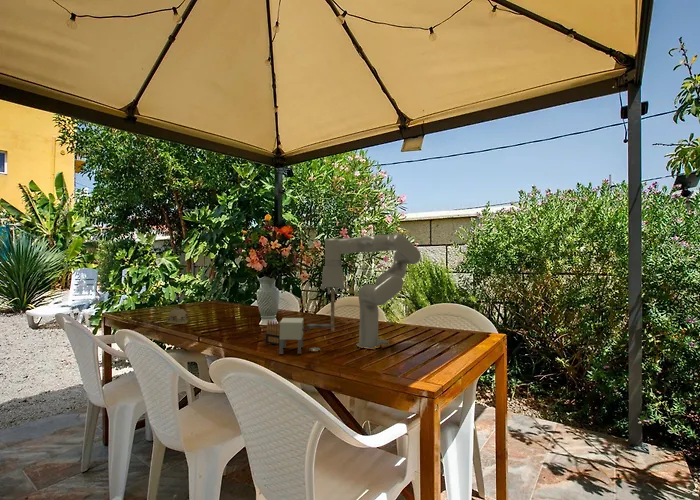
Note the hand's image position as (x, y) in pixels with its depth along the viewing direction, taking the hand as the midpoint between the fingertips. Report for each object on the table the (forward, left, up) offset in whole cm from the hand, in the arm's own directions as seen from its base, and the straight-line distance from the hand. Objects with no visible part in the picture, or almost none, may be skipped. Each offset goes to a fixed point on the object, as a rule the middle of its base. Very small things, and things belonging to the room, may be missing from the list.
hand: (332, 301), depth 182 cm
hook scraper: (+5, 0, -14) cm, 15 cm away
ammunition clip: (+29, -14, -24) cm, 40 cm away
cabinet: (+19, 0, -24) cm, 31 cm away
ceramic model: (+101, -75, -24) cm, 128 cm away
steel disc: (+8, 0, -24) cm, 25 cm away
